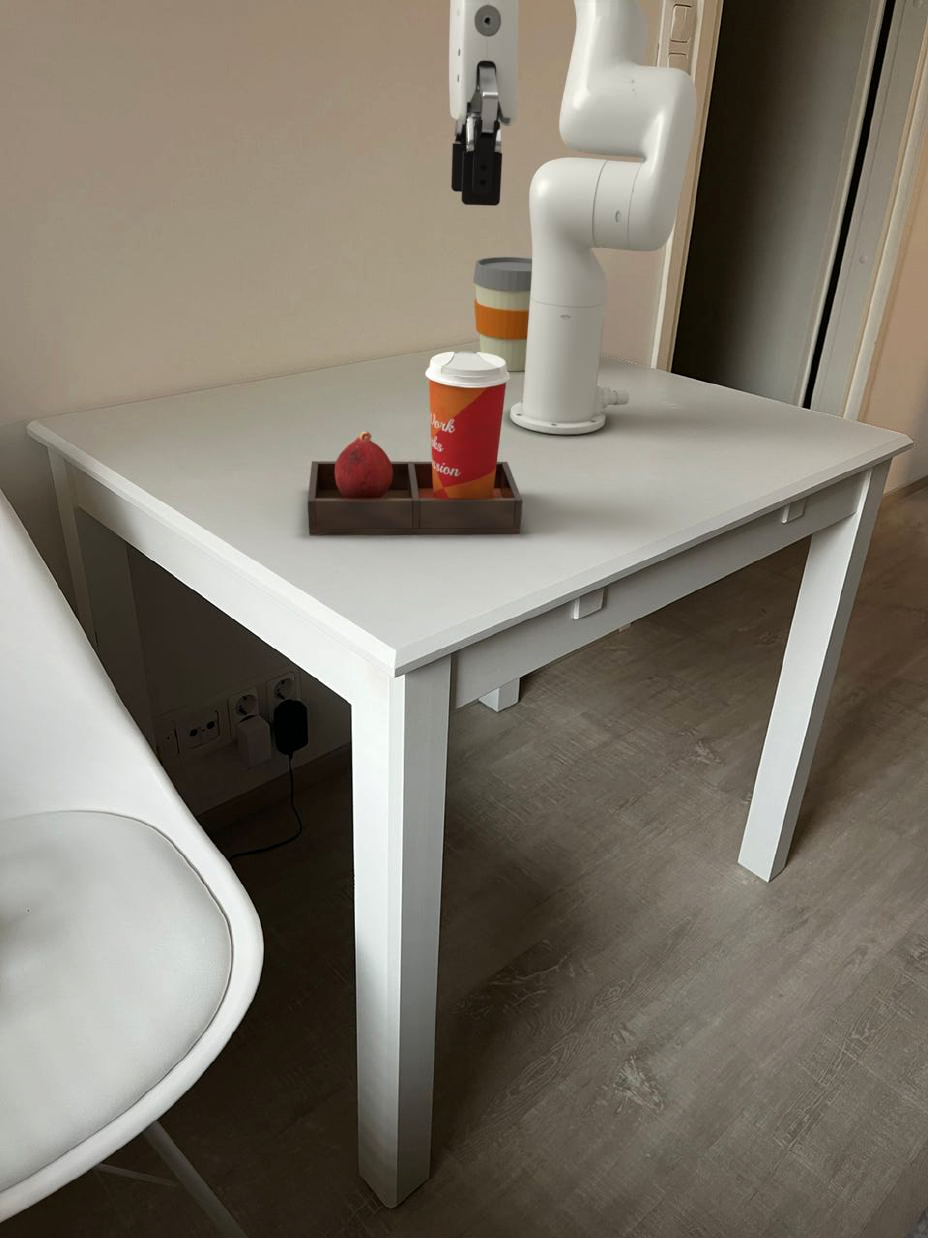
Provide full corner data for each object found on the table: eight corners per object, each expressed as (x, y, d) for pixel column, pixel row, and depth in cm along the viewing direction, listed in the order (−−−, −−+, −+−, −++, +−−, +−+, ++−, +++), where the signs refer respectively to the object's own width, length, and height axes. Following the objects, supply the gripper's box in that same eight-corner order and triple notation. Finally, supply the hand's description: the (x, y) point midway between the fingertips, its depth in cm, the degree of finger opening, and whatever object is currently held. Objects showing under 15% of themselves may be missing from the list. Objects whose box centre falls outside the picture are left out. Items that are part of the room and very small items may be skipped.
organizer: (505, 492, 106) (507, 461, 104) (520, 533, 97) (522, 500, 95) (313, 492, 104) (311, 460, 102) (309, 535, 94) (307, 500, 93)
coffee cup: (421, 489, 104) (423, 348, 96) (497, 489, 104) (505, 350, 97) (425, 521, 96) (428, 371, 89) (506, 521, 97) (516, 373, 90)
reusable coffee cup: (487, 349, 160) (492, 253, 153) (559, 359, 156) (568, 262, 148) (457, 366, 150) (460, 265, 142) (533, 378, 146) (541, 274, 138)
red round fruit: (369, 523, 96) (368, 446, 92) (323, 509, 99) (321, 433, 95) (403, 505, 100) (403, 430, 96) (358, 492, 103) (357, 419, 99)
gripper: (548, -42, 70) (531, 211, 79) (514, -24, 85) (503, 188, 94) (445, -48, 69) (439, 209, 78) (429, -28, 84) (425, 185, 93)
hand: (474, 197), depth 86 cm, fingers open, 9 cm apart
